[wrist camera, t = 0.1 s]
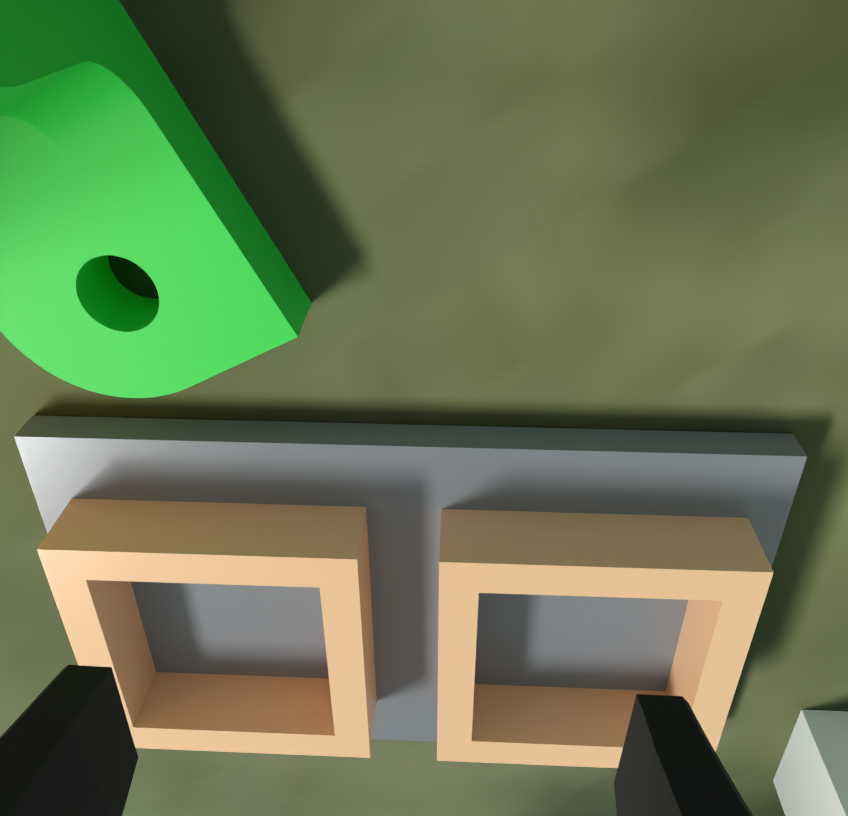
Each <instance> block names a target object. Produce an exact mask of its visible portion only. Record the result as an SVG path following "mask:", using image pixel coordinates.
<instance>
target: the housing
mask: <svg viewBox="0 0 848 816" xmlns="http://www.w3.org/2000/svg"><path fill="white" fill-rule="evenodd" d="M14 437H15V440H16V443H17V446H18V449H19V452H20V455H21V458H22V461H23V463H24V466H25V469H26V472H27V475H28V478H29V481H30V484H31V487H32V490H33V493H34V495H35V498H36V501H37V504H38V507H39V510H40V513H41V516H42V519H43V522H44V525H45V528H46V530H47V533H48V534H47V535H46V537H45V538H44V540H43V541H42V543H41V544H40V545H39V547H38V548H37V551H38V554H39V557H40V560H41V562H42V565H43V568H44V571H45V574H46V576H47V579H48V582H49V585H50V588H51V590H52V593H53V596H54V599H55V601H56V604H57V607H58V610H59V613H60V615H61V618H62V621H63V624H64V627H65V629H66V632H67V635H68V638H69V641H70V643H71V646H72V649H73V652H74V655H75V657H76V660H77V663H78V665H80V666H99V667H112V670H113V674H114V677H115V680H116V684H117V687H118V691H119V694H120V697H121V701H122V704H123V708H124V711H125V714H126V718H127V721H128V725H129V728H130V731H131V735H132V738H133V742H134V745H135V748H149V749H173V750H197V751H221V752H245V753H269V754H293V755H316V756H340V757H364V758H370V755H371V746H372V739H381V740H406V741H430V742H437V761H460V762H484V763H508V764H531V765H555V766H579V767H603V768H618V766H619V762H620V758H621V754H622V750H623V746H624V742H625V738H626V734H627V730H628V726H629V722H630V718H631V714H632V710H633V706H634V702H635V698H636V694H648V695H667V696H682V697H683V698H684V699H685V700H686V701H687V702H688V703H689V705H690V706H691V708H692V710H693V712H694V714H695V716H696V718H697V720H698V722H699V723H700V725H701V727H702V729H703V731H704V733H705V734H706V736H707V738H708V740H709V742H710V743H711V745H712V747H713V749H714V751H715V752H716V749H717V746H718V743H719V740H720V737H721V734H722V731H723V727H724V724H725V721H726V718H727V715H728V712H729V709H730V706H731V703H732V700H733V697H734V693H735V690H736V687H737V684H738V681H739V678H740V675H741V672H742V669H743V666H744V663H745V660H746V656H747V653H748V650H749V647H750V644H751V641H752V638H753V635H754V632H755V629H756V626H757V622H758V619H759V616H760V613H761V610H762V607H763V604H764V601H765V598H766V595H767V592H768V588H769V585H770V582H771V579H772V576H773V573H774V572H773V570H772V565H773V562H774V559H775V556H776V553H777V550H778V546H779V543H780V540H781V537H782V534H783V531H784V528H785V525H786V521H787V518H788V515H789V512H790V509H791V506H792V503H793V500H794V496H795V493H796V490H797V487H798V484H799V481H800V478H801V475H802V471H803V468H804V465H805V462H806V459H807V455H806V454H805V452H804V450H803V449H802V447H801V446H800V444H799V442H798V441H797V439H796V438H795V436H794V435H793V434H784V433H742V432H701V431H659V430H617V429H576V428H534V427H493V426H451V425H409V424H368V423H326V422H285V421H243V420H201V419H160V418H118V417H77V416H35V415H33V416H32V417H31V418H30V419H29V420H28V421H27V422H26V424H25V425H24V426H23V427H22V428H21V429H20V431H19V432H18V433H17V434H16V435H15V436H14Z"/></svg>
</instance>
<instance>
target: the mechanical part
mask: <svg viewBox="0 0 848 816" xmlns="http://www.w3.org/2000/svg"><path fill="white" fill-rule="evenodd" d="M108 255H112V256H118V257H122V258H125V259H127V260H130V261H132V262H133V263H135V264H137V265H138V266H139V267H141V268H142V269H143V270H144V271H145V272H146V273H147V274H148V275H149V277H150V278H151V279H152V281H153V282H154V284H155V286H156V289H157V292H158V296H159V298H146V297H142V296H139V295H137V294H135V293H133V292H131V291H129V290H128V289H126V288H125V287H124V286H123V285H122V284H121V283H120V282H119V281H118V280H117V278H116V277H115V275H114V274H113V272H112V270H111V267H110V264H109V259H108ZM310 305H311V301H310V299H309V298H308V296H307V295H306V293H305V292H304V290H303V288H302V287H301V285H300V284H299V282H298V281H297V279H296V277H295V276H294V274H293V273H292V271H291V270H290V268H289V266H288V265H287V263H286V262H285V260H284V259H283V257H282V255H281V254H280V252H279V251H278V249H277V248H276V246H275V244H274V243H273V241H272V240H271V238H270V237H269V235H268V233H267V232H266V230H265V229H264V227H263V226H262V224H261V222H260V221H259V219H258V218H257V216H256V215H255V213H254V211H253V210H252V208H251V207H250V205H249V204H248V202H247V200H246V199H245V197H244V196H243V194H242V193H241V191H240V190H239V188H238V186H237V185H236V183H235V182H234V180H233V179H232V177H231V175H230V174H229V172H228V171H227V169H226V168H225V166H224V164H223V163H222V161H221V160H220V158H219V157H218V155H217V153H216V152H215V150H214V149H213V147H212V146H211V144H210V142H209V141H208V139H207V138H206V136H205V135H204V133H203V131H202V130H201V128H200V127H199V125H198V124H197V122H196V120H195V119H194V117H193V116H192V114H191V113H190V111H189V109H188V108H187V106H186V105H185V103H184V102H183V100H182V98H181V97H180V95H179V94H178V92H177V91H176V89H175V87H174V86H173V84H172V83H171V81H170V80H169V78H168V77H167V75H166V73H165V72H164V70H163V69H162V67H161V66H160V64H159V62H158V61H157V59H156V58H155V56H154V55H153V53H152V51H151V50H150V48H149V47H148V45H147V44H146V42H145V40H144V39H143V37H142V36H141V34H140V33H139V31H138V29H137V28H136V26H135V25H134V23H133V22H132V20H131V18H130V17H129V15H128V14H127V12H126V11H125V9H124V7H123V6H122V4H121V3H120V1H119V0H0V331H1V332H2V333H3V334H4V335H5V337H6V338H7V339H8V340H9V341H10V342H11V343H12V344H13V345H14V346H15V347H16V348H17V349H19V350H20V351H21V352H22V353H23V354H24V355H25V356H27V357H28V358H29V359H31V360H32V361H33V362H34V363H36V364H37V365H39V366H40V367H42V368H43V369H45V370H46V371H48V372H49V373H51V374H53V375H55V376H57V377H58V378H60V379H62V380H64V381H67V382H69V383H71V384H73V385H75V386H78V387H81V388H84V389H86V390H89V391H93V392H96V393H100V394H105V395H110V396H115V397H124V398H150V397H158V396H164V395H168V394H172V393H175V392H179V391H181V390H184V389H186V388H189V387H191V386H193V385H195V384H197V383H200V382H202V381H204V380H206V379H208V378H210V377H212V376H215V375H217V374H219V373H221V372H223V371H225V370H227V369H230V368H232V367H234V366H236V365H238V364H240V363H243V362H245V361H247V360H249V359H251V358H253V357H255V356H258V355H260V354H262V353H264V352H266V351H268V350H270V349H273V348H275V347H277V346H279V345H281V344H283V343H286V342H288V341H290V340H292V339H294V338H296V337H298V335H299V333H300V330H301V328H302V325H303V323H304V320H305V318H306V315H307V313H308V310H309V308H310Z"/></svg>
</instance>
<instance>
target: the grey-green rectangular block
mask: <svg viewBox="0 0 848 816" xmlns="http://www.w3.org/2000/svg"><path fill="white" fill-rule="evenodd" d="M773 782H774V785H775V788H776V791H777V794H778V796H779V799H780V802H781V805H782V808H783V811H784V813H785V816H848V711H823V710H801V712H800V715H799V717H798V720H797V722H796V725H795V727H794V730H793V732H792V735H791V737H790V740H789V742H788V745H787V747H786V750H785V752H784V755H783V757H782V760H781V762H780V765H779V767H778V770H777V772H776V775H775V777H774V780H773Z"/></svg>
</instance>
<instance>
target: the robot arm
mask: <svg viewBox="0 0 848 816" xmlns="http://www.w3.org/2000/svg"><path fill="white" fill-rule="evenodd" d="M137 760H138V755H137V752H136V749H135V745H134V742H133V738H132V735H131V731H130V728H129V725H128V721H127V718H126V714H125V711H124V708H123V704H122V701H121V697H120V694H119V691H118V687H117V684H116V680H115V677H114V674H113V670H112V667H99V666H80V665H68V666H67V667H65V668H64V669H63V670H62V671H61V672H60V673H59V674H58V675H57V676H56V677H55V678H54V679H53V681H52V682H51V683H50V684H49V685H48V686H47V687H46V688H45V689H44V690H43V691H42V693H41V694H40V695H39V696H38V697H37V698H36V699H35V700H34V701H33V702H32V703H31V705H30V706H29V707H28V708H27V709H26V710H25V711H24V712H23V713H22V714H21V715H20V717H19V718H18V719H17V720H16V721H15V722H14V723H13V724H12V725H11V726H10V727H9V728H8V730H7V731H6V732H5V733H4V734H3V735H2V736H1V737H0V816H122V813H123V809H124V806H125V803H126V799H127V796H128V792H129V789H130V785H131V781H132V778H133V774H134V770H135V767H136V763H137ZM614 788H615V798H616V807H617V816H753V815H752V813H751V812H750V810H749V808H748V807H747V805H746V804H745V802H744V800H743V799H742V797H741V795H740V793H739V792H738V790H737V788H736V787H735V785H734V783H733V782H732V780H731V778H730V777H729V775H728V773H727V772H726V770H725V768H724V766H723V765H722V763H721V761H720V759H719V758H718V756H717V754H716V752H715V751H714V749H713V747H712V745H711V743H710V742H709V740H708V738H707V736H706V734H705V733H704V731H703V729H702V727H701V725H700V723H699V722H698V720H697V718H696V716H695V714H694V712H693V710H692V708H691V706H690V705H689V703H688V702H687V701H686V700H685V699H684V698H683V697H682V696H667V695H648V694H636V698H635V702H634V706H633V710H632V714H631V718H630V722H629V726H628V730H627V734H626V738H625V742H624V746H623V750H622V754H621V758H620V762H619V766H618V770H617V774H616V778H615V782H614Z"/></svg>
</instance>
